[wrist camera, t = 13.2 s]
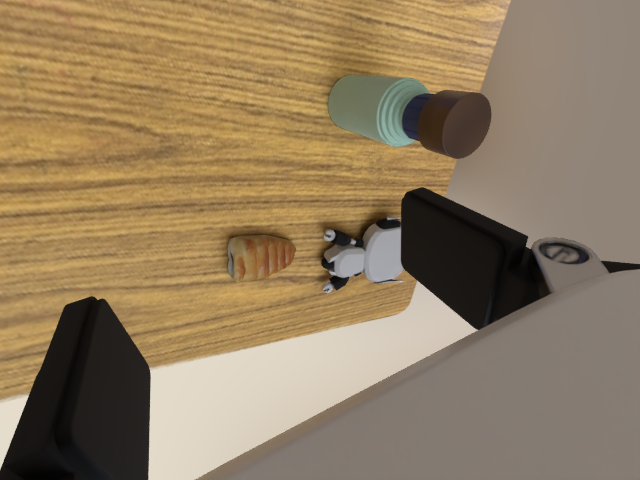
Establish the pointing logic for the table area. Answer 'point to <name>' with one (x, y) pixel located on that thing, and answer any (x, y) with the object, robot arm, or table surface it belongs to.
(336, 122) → the bottle
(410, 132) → the cap
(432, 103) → the cylinder
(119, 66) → the table surface
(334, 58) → the table surface
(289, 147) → the table surface
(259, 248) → the pastry
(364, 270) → the robot toy
